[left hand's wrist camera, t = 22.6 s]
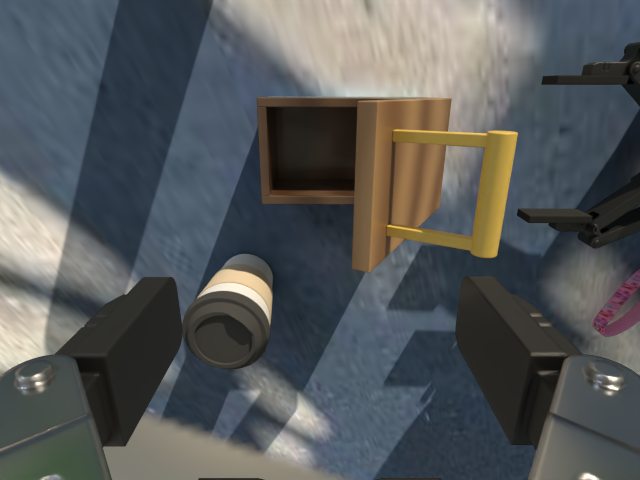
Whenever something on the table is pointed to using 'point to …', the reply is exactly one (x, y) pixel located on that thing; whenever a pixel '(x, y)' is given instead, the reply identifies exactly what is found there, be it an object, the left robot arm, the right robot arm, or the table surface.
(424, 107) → the lid
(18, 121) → the table surface
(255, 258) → the coffee cup
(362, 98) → the chest
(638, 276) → the headband
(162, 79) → the table surface
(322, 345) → the table surface
